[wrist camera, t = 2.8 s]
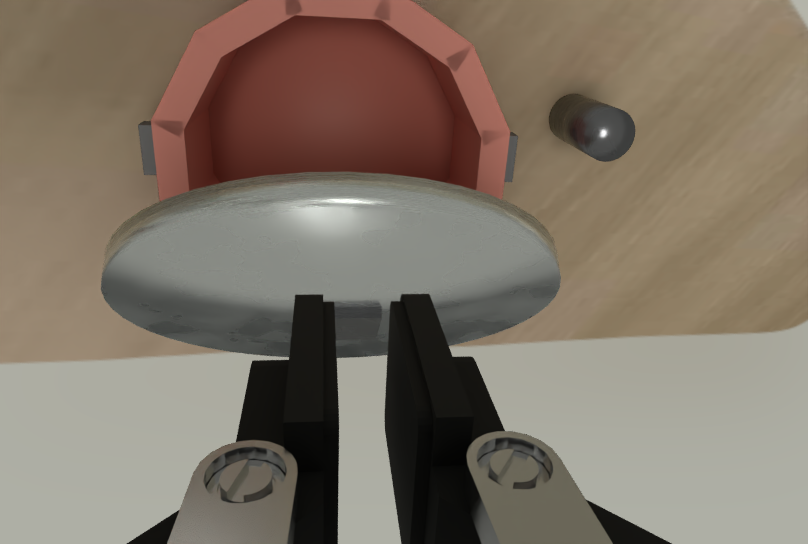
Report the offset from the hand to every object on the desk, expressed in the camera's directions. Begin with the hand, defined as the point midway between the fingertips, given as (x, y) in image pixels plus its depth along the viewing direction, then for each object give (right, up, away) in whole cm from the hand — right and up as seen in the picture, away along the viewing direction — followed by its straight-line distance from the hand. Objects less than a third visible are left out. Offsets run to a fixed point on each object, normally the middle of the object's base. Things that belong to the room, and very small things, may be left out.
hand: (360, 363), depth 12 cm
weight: (+12, +12, +28) cm, 33 cm away
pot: (-4, +10, +27) cm, 29 cm away
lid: (-2, +2, +15) cm, 15 cm away
